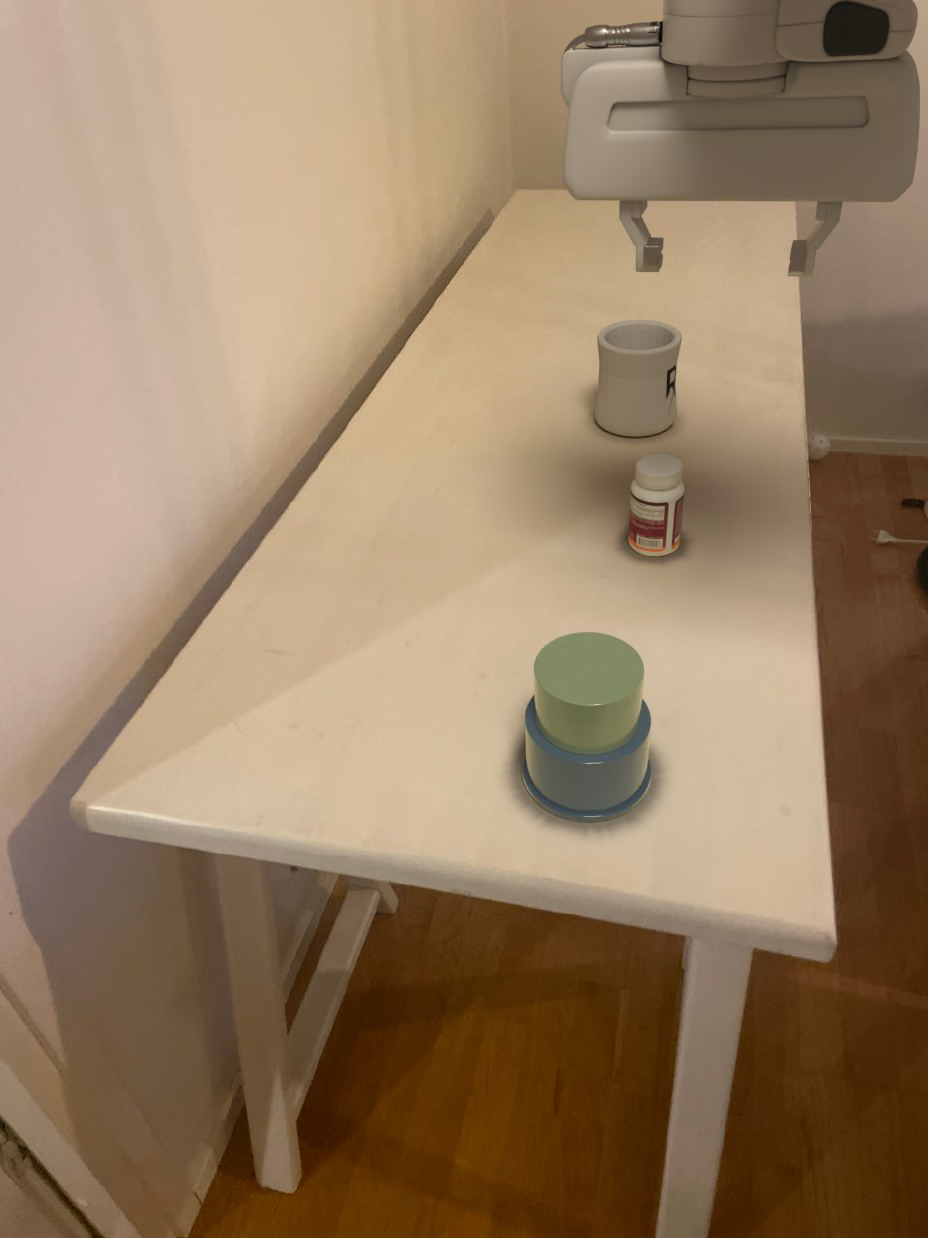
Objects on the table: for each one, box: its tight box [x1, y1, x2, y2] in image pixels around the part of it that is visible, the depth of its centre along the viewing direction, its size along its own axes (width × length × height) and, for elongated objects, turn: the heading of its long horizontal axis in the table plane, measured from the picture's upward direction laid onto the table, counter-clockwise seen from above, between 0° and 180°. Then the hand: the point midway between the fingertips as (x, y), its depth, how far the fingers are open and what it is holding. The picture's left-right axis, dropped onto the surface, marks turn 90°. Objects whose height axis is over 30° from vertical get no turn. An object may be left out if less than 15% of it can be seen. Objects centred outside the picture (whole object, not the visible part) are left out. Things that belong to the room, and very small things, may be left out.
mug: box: [594, 319, 683, 438], centre depth 104 cm, size 12×9×10 cm
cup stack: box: [521, 631, 652, 823], centre depth 63 cm, size 9×9×10 cm
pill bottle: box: [627, 452, 686, 557], centre depth 85 cm, size 5×5×8 cm
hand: (722, 271), depth 60 cm, fingers open, 8 cm apart
